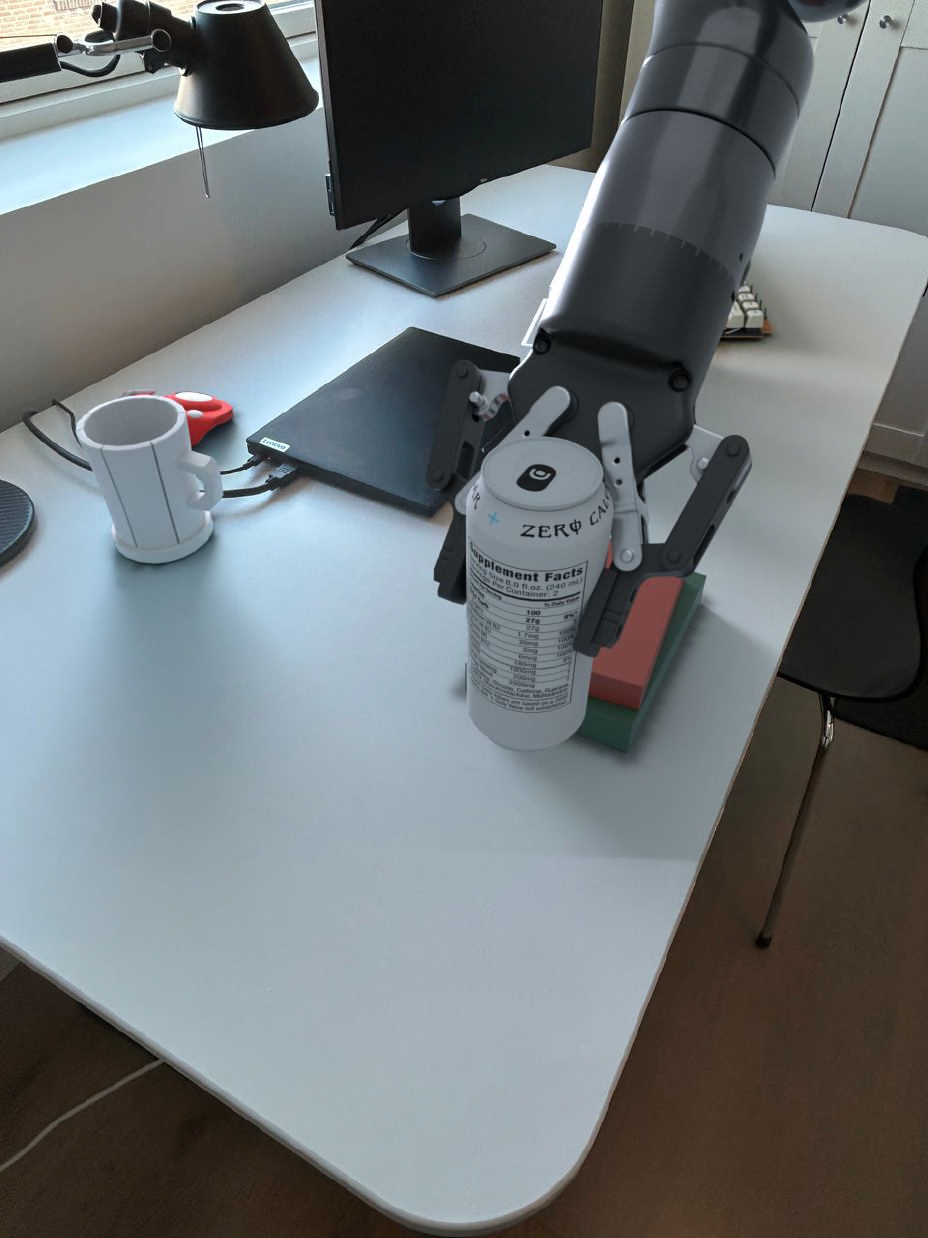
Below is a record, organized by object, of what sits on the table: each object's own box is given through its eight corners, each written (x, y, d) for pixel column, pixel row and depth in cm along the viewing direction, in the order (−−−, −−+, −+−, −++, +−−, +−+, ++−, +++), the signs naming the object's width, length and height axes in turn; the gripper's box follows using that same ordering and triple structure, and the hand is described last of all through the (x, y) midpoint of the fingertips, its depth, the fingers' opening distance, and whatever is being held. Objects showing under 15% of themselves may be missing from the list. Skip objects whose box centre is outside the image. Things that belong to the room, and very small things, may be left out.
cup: (225, 496, 85) (199, 383, 77) (239, 552, 79) (212, 436, 71) (112, 517, 83) (73, 403, 75) (118, 577, 77) (76, 460, 68)
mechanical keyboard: (589, 232, 135) (591, 209, 133) (712, 232, 136) (716, 209, 133) (624, 346, 108) (627, 320, 106) (777, 346, 108) (784, 320, 106)
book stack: (558, 557, 78) (562, 506, 75) (700, 602, 74) (712, 551, 70) (465, 690, 67) (464, 639, 63) (626, 753, 62) (637, 702, 59)
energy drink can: (602, 696, 46) (641, 452, 35) (554, 780, 42) (582, 534, 32) (500, 656, 48) (508, 414, 38) (445, 732, 44) (437, 487, 34)
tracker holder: (231, 387, 98) (237, 411, 90) (229, 426, 100) (235, 453, 92) (114, 377, 94) (109, 401, 86) (115, 418, 96) (110, 445, 88)
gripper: (479, 187, 37) (340, 562, 38) (827, 253, 32) (657, 687, 32) (530, 268, 44) (412, 583, 45) (822, 334, 39) (682, 689, 39)
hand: (516, 625), depth 39 cm, fingers closed on energy drink can, 6 cm apart
